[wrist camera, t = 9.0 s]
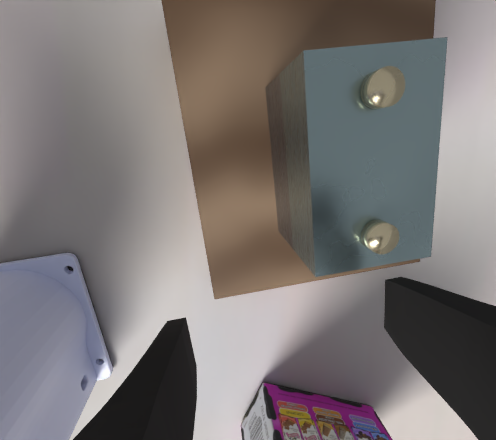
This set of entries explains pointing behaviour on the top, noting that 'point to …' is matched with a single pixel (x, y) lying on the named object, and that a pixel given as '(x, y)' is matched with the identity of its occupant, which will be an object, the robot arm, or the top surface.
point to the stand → (258, 115)
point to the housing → (358, 152)
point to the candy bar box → (308, 417)
